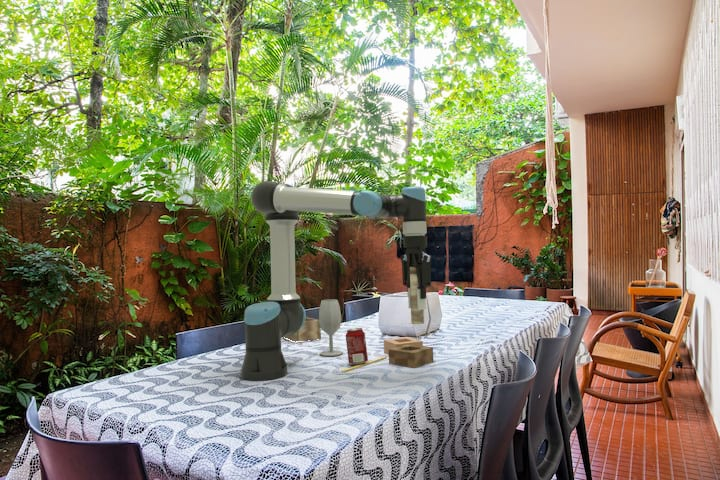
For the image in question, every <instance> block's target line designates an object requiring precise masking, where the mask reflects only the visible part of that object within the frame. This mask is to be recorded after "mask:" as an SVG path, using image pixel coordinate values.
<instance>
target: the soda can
mask: <svg viewBox="0 0 720 480" xmlns="http://www.w3.org/2000/svg"><path fill="white" fill-rule="evenodd" d="M345 342H346V349H347V351H346V352H347V361H348V364H350V365H351V366H357V365H361V364H365V363H366V362H369V360H368V358H369V357H368V351H367V350H368V349H367V341H366V333H365V332H364V330H363V328H362V327H358V328H357V327H355V328H349V329H346V334H345Z"/></svg>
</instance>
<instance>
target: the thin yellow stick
mask: <svg viewBox="0 0 720 480" xmlns="http://www.w3.org/2000/svg"><path fill="white" fill-rule="evenodd" d="M385 359H387V356H383V357H379V358H376V359H373V360H370V361H369V360H368V361H367V362H366V363H365V364H361V365H353V366H352V367H349V368H348V367H347V368H346V369H342V370H341V371H340V372H341V373H347V372H350V371H353V370H357V369H359V368H362V367H365V366H368V365H371V364H373V363H377V362H380V361H383V360H385Z"/></svg>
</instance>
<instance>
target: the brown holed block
mask: <svg viewBox="0 0 720 480" xmlns="http://www.w3.org/2000/svg"><path fill="white" fill-rule="evenodd" d="M388 350H389V355H388V364H389V365H392V366H393V365H395V366H400V367H406V368H412V369H413V368H414V369H415V368H418V367H421V366H425V365H428V364H431V363H433V362H434V348H433V347H432V346H425V345H423V346H418V345H410V344H407V345H403V346H399V347H396V348H392V349H388Z"/></svg>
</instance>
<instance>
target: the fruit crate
mask: <svg viewBox="0 0 720 480" xmlns="http://www.w3.org/2000/svg"><path fill="white" fill-rule="evenodd" d="M321 333H322V329H321V326H320V323H319V318H318V319H317V318H313V317H307V316H306V320H305V323H304V325H303V327H302V328H301V329H300V330H299V331H297V332H296V333H294V334H292V335H289V336H285V338H288V339H290V340H292V341H295V342H296V341H308V340H317V339H321V340H322V334H321ZM283 338H284V337H282V339H283ZM317 341H318V340H317Z"/></svg>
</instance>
